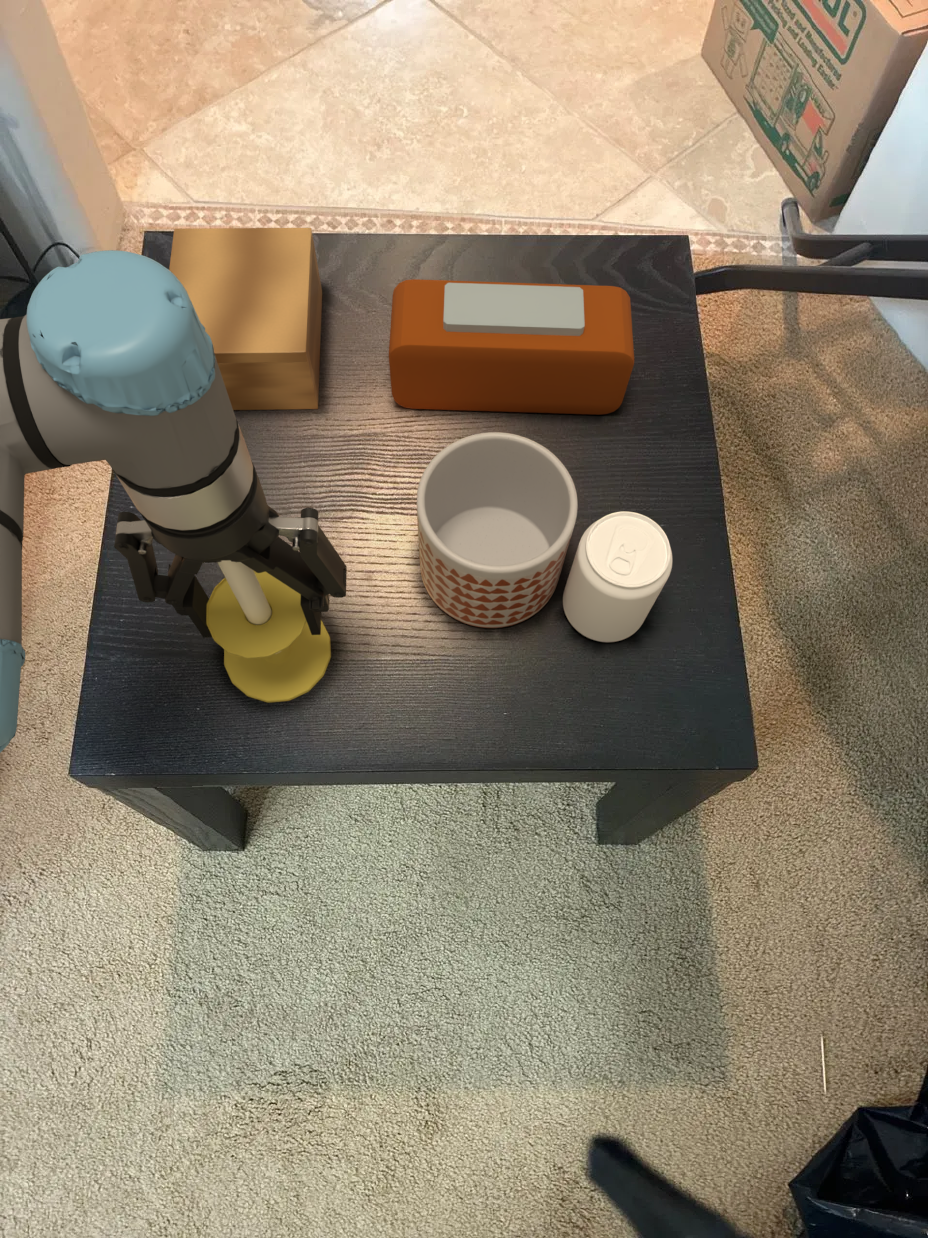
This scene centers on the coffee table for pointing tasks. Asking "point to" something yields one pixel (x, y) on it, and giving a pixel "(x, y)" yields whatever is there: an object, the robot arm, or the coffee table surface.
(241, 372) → the lidded tan carton
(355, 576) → the coffee table surface
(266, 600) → the candle
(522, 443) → the planter
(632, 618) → the beverage can
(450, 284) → the alarm clock
